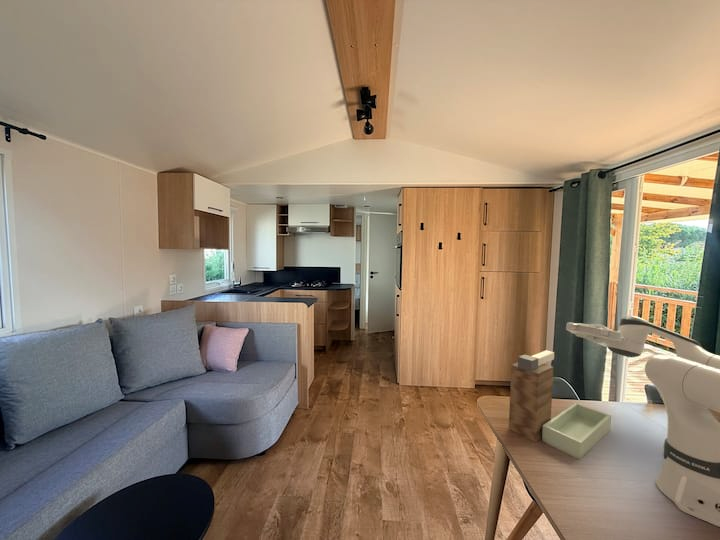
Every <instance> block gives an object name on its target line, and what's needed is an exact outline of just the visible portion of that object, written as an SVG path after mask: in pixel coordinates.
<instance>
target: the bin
mask: <svg viewBox="0 0 720 540" xmlns="http://www.w3.org/2000/svg"><path fill="white" fill-rule="evenodd" d="M611 425H612V415H611V414H608V413H606V412H602V411H600V410H597V409H594V408H592V407H589V406H586V405H584V404H580V403H578V402H574V403H573V404H571V405H570V406H569V407H567V408H566V409H564V410H562V412H559V414H557V415H556V416H554V417H553V418H551V420H550V421H548V422H547V423H546V424H544V425H543V431H542V438H541V441H542V443H543V442H544V443H545V444H548V445H549V446H551V447H553V448H555V449H557V450H559V451H562V452H563V453H565V454H567V455H569V456H571V457H574V458H575V459H578V460H579V461H581V460H582V459H581V458H582V457H583V458H584V457H585V456H586V455H588V453H590V451H591V450H592V449H593V448H594V447H595V446H596V445H597V444H598V443H599V442H600V441H602V439H603V438H604V437H605V436H606V435H607V434H608V433H610V432H611V429H612V428H611ZM580 459H581V460H580Z"/></svg>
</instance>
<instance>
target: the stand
mask: <svg viewBox="0 0 720 540" xmlns="http://www.w3.org/2000/svg"><path fill="white" fill-rule="evenodd" d="M510 367H511V368H510V392H509V412H508V413H509V414H508V415H509V416H508V417H509V418H508V430H511V431H512V432H514V433H516V434H518V435H520V436H522V437H524V438H525V439H528V440H530V441H532V442H534V443H537V442H539V440H542V431H543V425H544V424H546V423H547V422H548V421H550V420H551V419H552V400H553V384H554V366H552V365H548V364H546V363H545V364H542V365H540V366H538V369H536V370H534V371H528V370H525V369H522V368H519V367H518V362H516V363H512V364H511V366H510Z"/></svg>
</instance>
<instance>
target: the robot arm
mask: <svg viewBox="0 0 720 540" xmlns="http://www.w3.org/2000/svg"><path fill="white" fill-rule="evenodd" d="M565 326H566V327H565V330H566V331H568V332H570V333H571V334H573V335H575V337H577V338H582V339H584V340H588V341H590V342H592V343H595V344H597V345H600V346H602V347H604V348H605V347H606V348H608V349H609V351H610V352H613V353H615V354H618V355H619V356H623V357H627V358H636V357H640V356H641V355H642V353H643V350H644V348H645V344H646V342H647V338H648V336H649V334H653V335H656V336H657V337H661V338H663V339H666V340H668V341H670V342H671V343H672V344H673V346H674V349H675V352H676V353H675V354H676V355H670V354H661V353H660V354H659V353H658V354H655V355H653V356H651V357H650V358H649V359H648V360H647V361H646V363H645V365H644V373H645V376H646V378H647V379H648V380H649V381H650V382H651V383H652V385H654V388H655V389H656V390H657V391H658V393H659V395H661V397H662V400H663V402H662V403H663V404H664V407H665V410H666V411H665V412H666V414H667V430H666V431H667V432H666V438H665V439H664V443H663V447H662V448H663V449H662V455H663V463H662V467H661V470H660V472H659V474H658V476H657V477H656V479H655V484H656V486H657V488H658V489H659V491H660V492H661V493H663V494H664V495H665V496H666V497H667V498H668V499H670V500H671V501H672V502H673V503H674V504H675V506H676V507H677V508H678V509H679V510H681V512H683V513H685V514H688V515H690V516H693V517H695V518H697V519H699V520H702V521H705V522H706V523H709V524H711V525H714V526H716V527H719V528H720V422H719V420H718V419H716V418H715V416H714V415H713V414H712V413H711V411H710V410H712V411H714V412H716V413H718V414H720V355H718V354H714V353H712V352H709V351H708V350H706V349H705V348H703V347H702V344H701V343H700V342H699V341H698V340H695V339H693V338H691V337H688V336H686V335H683V334H682V333H681V334H680V333H678V332H676V331H674V330H670V329H668V328H666V327H663V326H660V325H657V324H655V323H653V322H649V321H648V320H646V319H645V318H642V317H640V316H637V315H627V316H625V317H623V318H621V319H620V323H619V326H618V330H613V329H612V328H609V327H607V326H605V325H603V324H601V323H600V324H599V323H584V322H583V323H581V322H580V323H579V322H578V323H577V322H576V323H575V322H570V321H569V322H566V325H565Z"/></svg>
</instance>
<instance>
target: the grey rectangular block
mask: <svg viewBox="0 0 720 540" xmlns="http://www.w3.org/2000/svg"><path fill="white" fill-rule="evenodd" d="M553 360H555V351H551V350H547V349H546V350H543V351H541V352H539V353H536V354H533V355H528V354H523V355H519V356H518V357H517V363H518V367H519V368H522V369H525V370H528V371H534V370H536V369H538V366H540V365H542V364H546V363H547V364H548V363H549V362H551V361H553Z"/></svg>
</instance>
